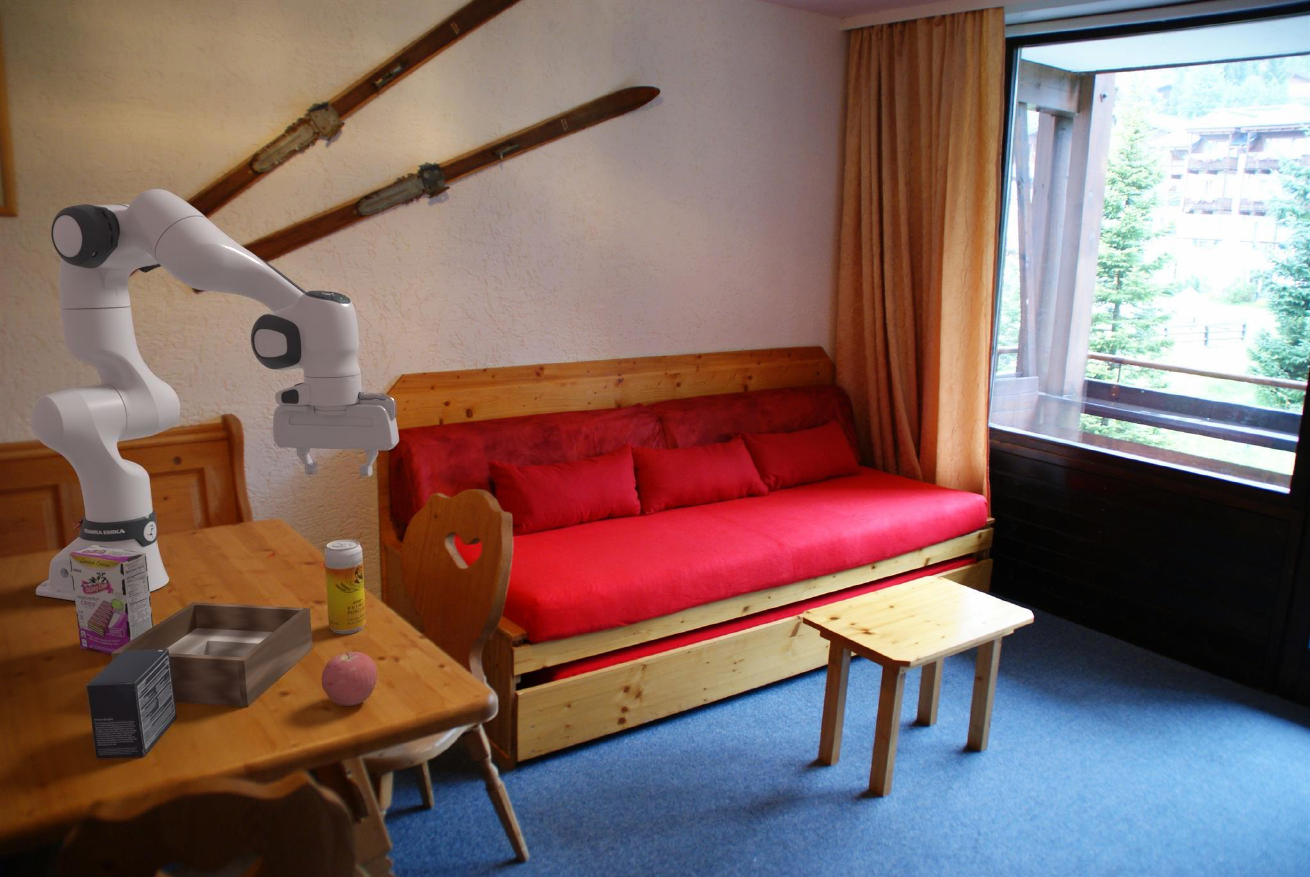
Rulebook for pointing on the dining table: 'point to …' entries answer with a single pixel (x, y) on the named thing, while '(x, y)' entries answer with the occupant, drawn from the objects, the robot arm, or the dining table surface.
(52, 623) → the dining table surface
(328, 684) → the apple
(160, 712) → the small box
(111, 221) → the robot arm
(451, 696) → the dining table surface
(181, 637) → the wooden box
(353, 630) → the beer can
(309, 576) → the dining table surface
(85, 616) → the candy bar box
